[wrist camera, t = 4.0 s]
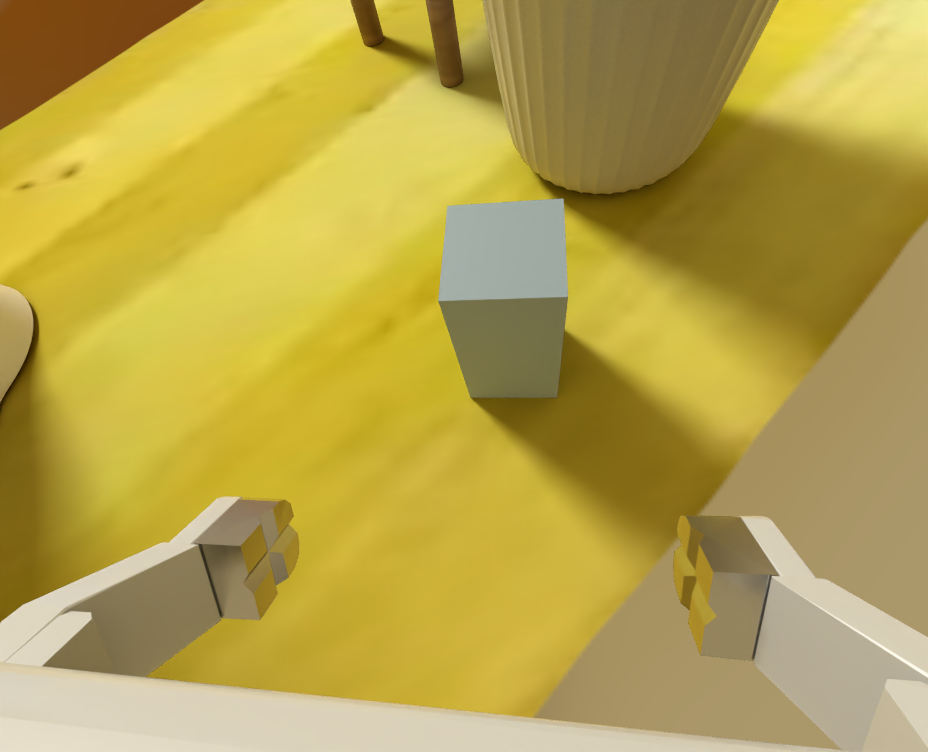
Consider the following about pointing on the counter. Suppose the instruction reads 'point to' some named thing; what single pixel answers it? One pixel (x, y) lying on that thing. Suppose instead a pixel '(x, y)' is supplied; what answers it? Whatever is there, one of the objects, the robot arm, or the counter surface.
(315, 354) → the counter surface
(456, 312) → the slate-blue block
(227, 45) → the counter surface
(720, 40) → the canister
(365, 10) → the walnut stool
